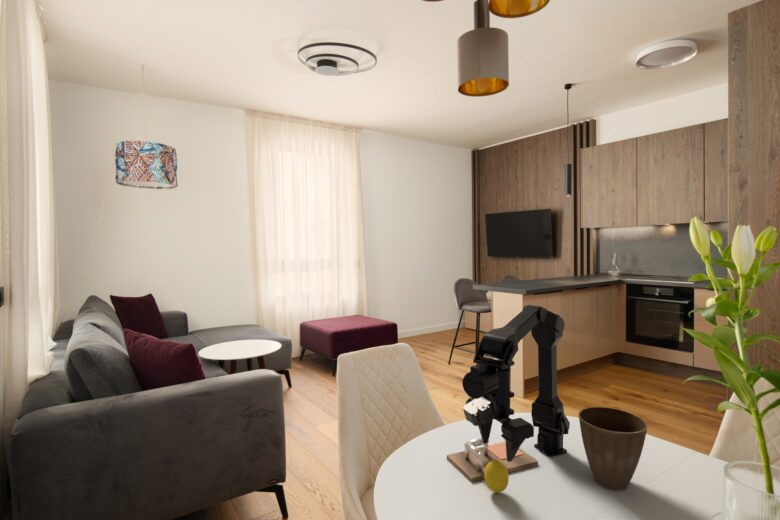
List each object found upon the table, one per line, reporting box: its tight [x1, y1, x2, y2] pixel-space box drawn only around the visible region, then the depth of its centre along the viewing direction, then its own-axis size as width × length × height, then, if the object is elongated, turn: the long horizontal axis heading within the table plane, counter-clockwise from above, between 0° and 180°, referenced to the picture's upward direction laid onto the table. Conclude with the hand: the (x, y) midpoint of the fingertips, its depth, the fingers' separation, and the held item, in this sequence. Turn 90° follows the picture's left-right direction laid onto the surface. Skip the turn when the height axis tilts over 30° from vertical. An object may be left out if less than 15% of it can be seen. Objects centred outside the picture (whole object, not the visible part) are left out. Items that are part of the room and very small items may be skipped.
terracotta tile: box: [488, 441, 524, 460], centre depth 117 cm, size 8×8×1 cm
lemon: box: [484, 460, 509, 494], centre depth 99 cm, size 6×6×8 cm
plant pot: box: [578, 406, 648, 491], centre depth 104 cm, size 15×15×16 cm
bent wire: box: [464, 437, 490, 472], centre depth 111 cm, size 8×8×5 cm
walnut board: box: [446, 446, 539, 483], centre depth 113 cm, size 21×12×1 cm, turn 113°
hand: (496, 451), depth 99 cm, fingers open, 9 cm apart
